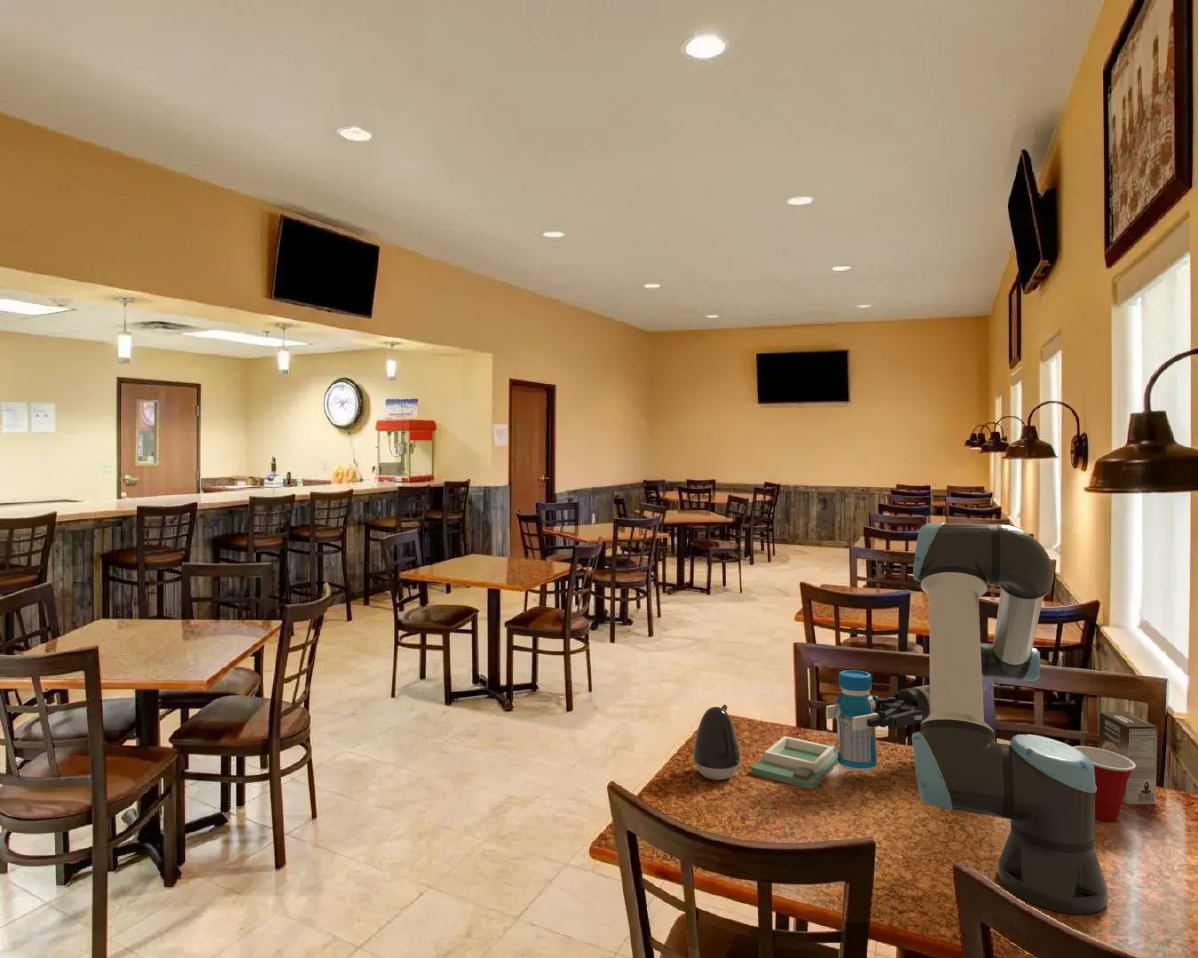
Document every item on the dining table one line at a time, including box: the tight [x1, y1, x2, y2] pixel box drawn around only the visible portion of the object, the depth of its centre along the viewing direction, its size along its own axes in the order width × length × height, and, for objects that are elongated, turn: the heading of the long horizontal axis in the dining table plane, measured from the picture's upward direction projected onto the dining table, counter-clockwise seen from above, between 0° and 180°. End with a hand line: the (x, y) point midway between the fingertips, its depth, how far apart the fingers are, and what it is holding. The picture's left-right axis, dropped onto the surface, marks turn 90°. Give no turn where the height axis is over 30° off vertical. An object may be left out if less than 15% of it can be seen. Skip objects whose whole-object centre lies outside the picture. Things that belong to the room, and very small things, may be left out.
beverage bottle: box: [835, 669, 878, 772], centre depth 162 cm, size 8×8×20 cm
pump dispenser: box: [692, 704, 741, 781], centre depth 164 cm, size 10×10×15 cm
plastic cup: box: [1073, 745, 1136, 823], centre depth 145 cm, size 11×11×12 cm
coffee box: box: [1098, 711, 1159, 805], centre depth 154 cm, size 9×6×16 cm
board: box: [750, 735, 839, 791], centre depth 170 cm, size 22×14×4 cm, turn 145°
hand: (840, 718), depth 160 cm, fingers closed on beverage bottle, 7 cm apart
